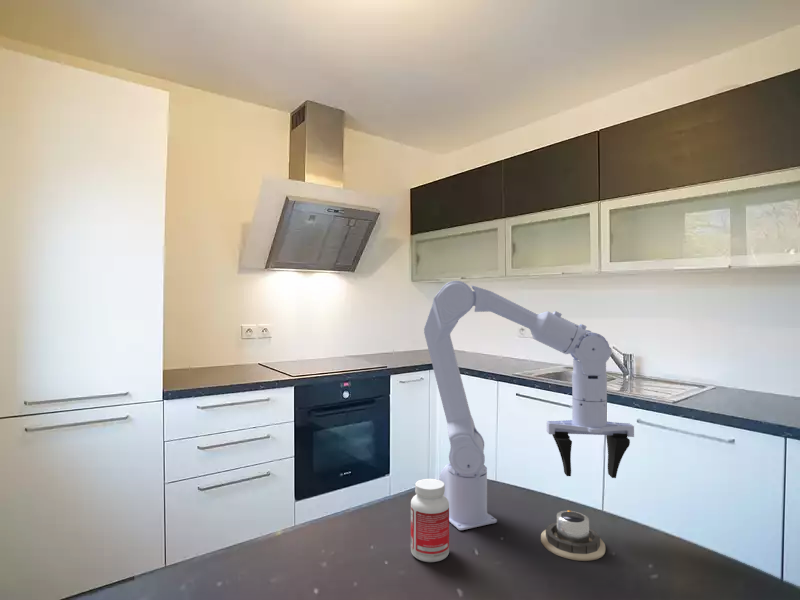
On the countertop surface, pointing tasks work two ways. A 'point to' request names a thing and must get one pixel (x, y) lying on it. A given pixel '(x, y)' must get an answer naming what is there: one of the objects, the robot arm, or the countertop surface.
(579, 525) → the lens
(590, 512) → the countertop surface
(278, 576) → the countertop surface
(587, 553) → the mount
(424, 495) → the pill bottle
